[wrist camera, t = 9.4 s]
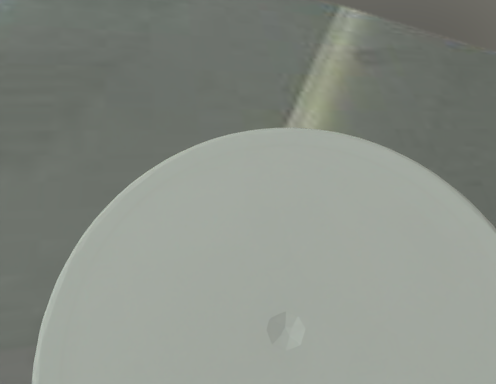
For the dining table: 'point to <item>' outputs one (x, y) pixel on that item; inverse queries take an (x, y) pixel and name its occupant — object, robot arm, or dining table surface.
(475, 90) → the dining table surface
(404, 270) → the supplement tub
